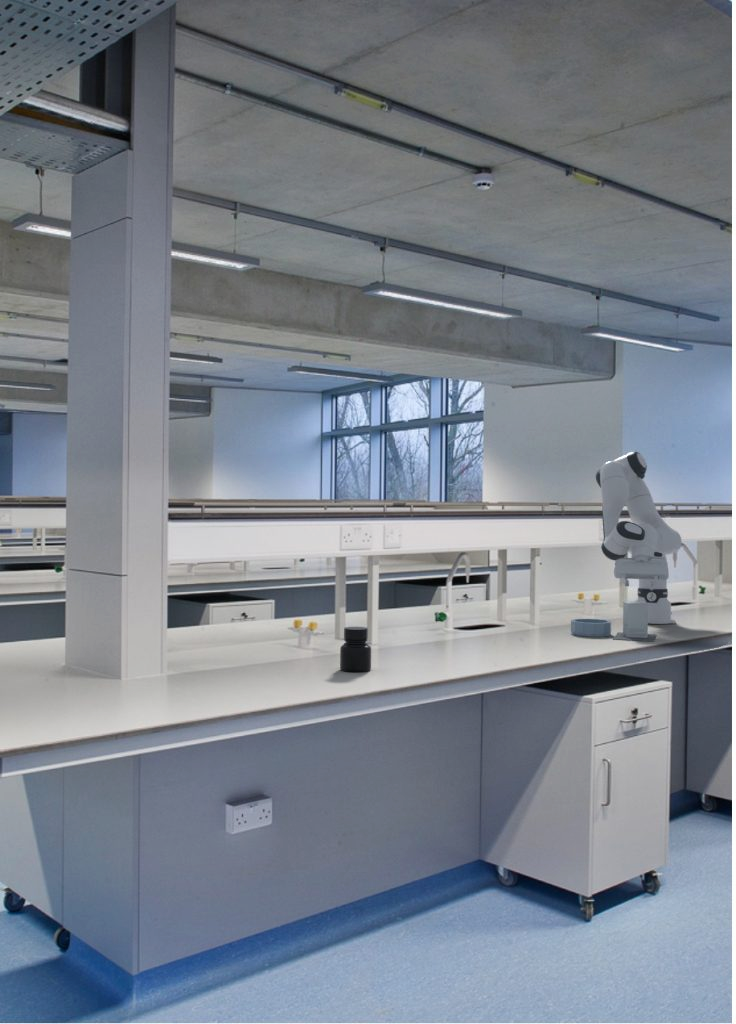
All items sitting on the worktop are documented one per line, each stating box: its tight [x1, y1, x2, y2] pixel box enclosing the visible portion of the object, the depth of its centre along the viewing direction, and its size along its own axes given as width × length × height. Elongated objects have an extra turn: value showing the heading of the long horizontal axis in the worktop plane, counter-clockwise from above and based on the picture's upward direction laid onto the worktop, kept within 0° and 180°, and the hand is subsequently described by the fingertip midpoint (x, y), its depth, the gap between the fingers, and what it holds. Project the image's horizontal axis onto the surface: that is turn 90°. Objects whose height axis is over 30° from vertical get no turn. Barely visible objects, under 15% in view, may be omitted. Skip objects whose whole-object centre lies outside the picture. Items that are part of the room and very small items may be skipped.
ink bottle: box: [339, 626, 372, 673], centre depth 267 cm, size 10×9×12 cm
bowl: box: [570, 618, 612, 638], centre depth 349 cm, size 14×14×5 cm
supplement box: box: [622, 601, 649, 638], centre depth 343 cm, size 7×7×13 cm
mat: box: [612, 631, 657, 643], centre depth 343 cm, size 20×14×1 cm
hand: (639, 585), depth 354 cm, fingers open, 8 cm apart
